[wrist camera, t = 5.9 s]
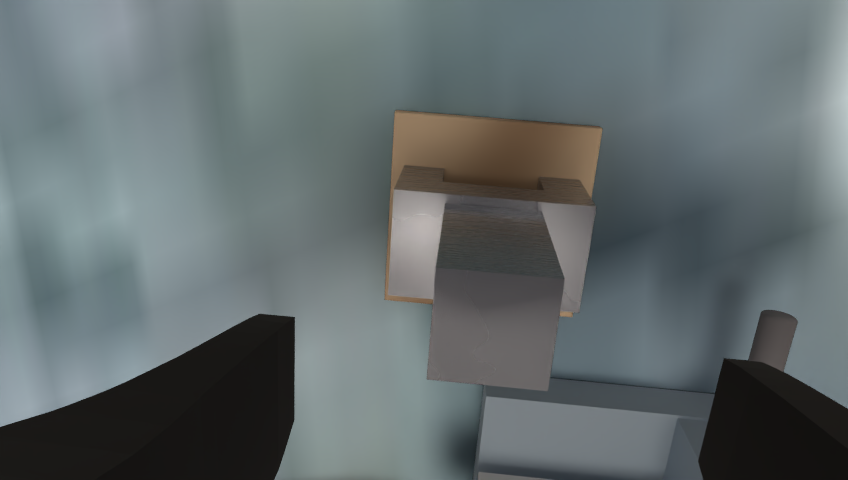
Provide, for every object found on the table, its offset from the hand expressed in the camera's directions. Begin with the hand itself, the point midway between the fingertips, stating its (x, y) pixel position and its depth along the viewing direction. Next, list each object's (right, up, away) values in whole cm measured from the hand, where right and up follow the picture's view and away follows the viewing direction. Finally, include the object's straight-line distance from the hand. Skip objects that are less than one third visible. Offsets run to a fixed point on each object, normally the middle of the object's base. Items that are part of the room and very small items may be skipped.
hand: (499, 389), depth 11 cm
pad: (+1, +3, +9) cm, 10 cm away
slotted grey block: (+1, +3, +9) cm, 10 cm away
